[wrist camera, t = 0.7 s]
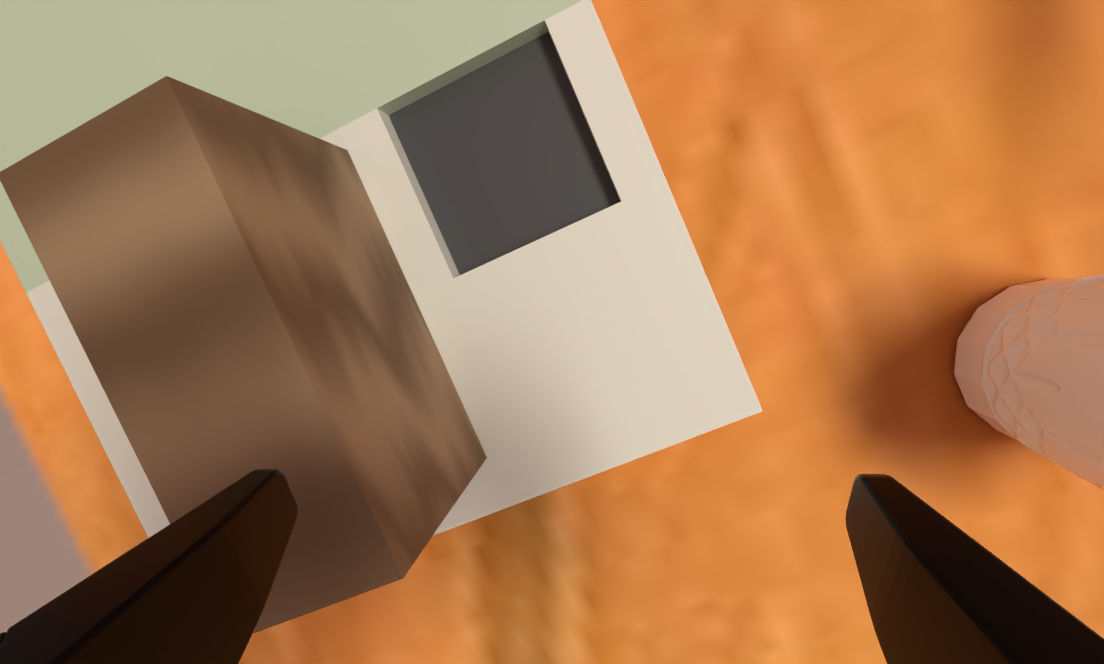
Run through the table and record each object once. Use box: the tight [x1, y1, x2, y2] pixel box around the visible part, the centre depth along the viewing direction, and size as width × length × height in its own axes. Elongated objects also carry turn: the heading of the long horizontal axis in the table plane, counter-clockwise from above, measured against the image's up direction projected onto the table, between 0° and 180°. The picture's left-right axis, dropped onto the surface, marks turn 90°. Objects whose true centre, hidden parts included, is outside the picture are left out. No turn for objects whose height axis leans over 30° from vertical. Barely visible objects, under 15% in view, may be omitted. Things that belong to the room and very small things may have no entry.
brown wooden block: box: [0, 76, 487, 634], centre depth 21 cm, size 15×6×10 cm, turn 24°
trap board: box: [0, 0, 763, 538], centre depth 26 cm, size 31×30×2 cm
